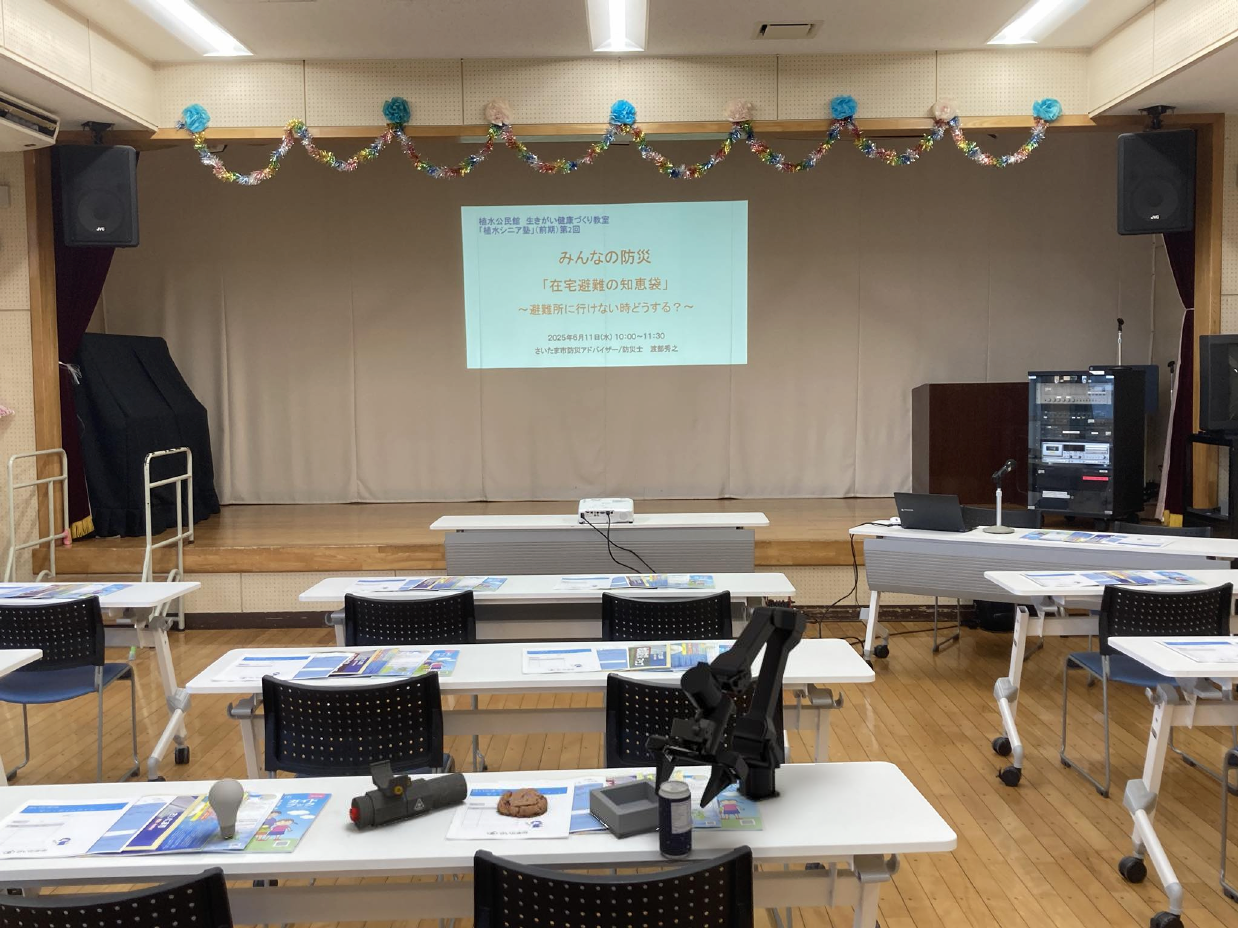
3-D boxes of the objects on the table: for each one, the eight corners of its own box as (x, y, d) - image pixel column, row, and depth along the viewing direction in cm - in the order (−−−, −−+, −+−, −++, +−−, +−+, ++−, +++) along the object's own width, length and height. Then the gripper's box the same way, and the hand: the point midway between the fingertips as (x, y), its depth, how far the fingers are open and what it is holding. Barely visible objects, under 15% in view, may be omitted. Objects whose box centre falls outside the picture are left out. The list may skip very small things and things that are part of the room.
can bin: (650, 799, 191) (649, 777, 191) (681, 824, 180) (681, 800, 179) (589, 812, 186) (589, 789, 186) (618, 839, 174) (618, 814, 174)
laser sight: (472, 808, 189) (471, 758, 189) (361, 840, 176) (359, 786, 176) (451, 793, 197) (449, 745, 197) (343, 822, 184) (341, 770, 184)
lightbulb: (211, 847, 174) (208, 788, 173) (208, 834, 180) (206, 776, 179) (247, 840, 177) (245, 781, 176) (243, 827, 182) (241, 770, 182)
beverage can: (692, 846, 171) (691, 779, 170) (691, 861, 165) (690, 792, 164) (660, 845, 171) (659, 779, 171) (658, 860, 166) (657, 791, 165)
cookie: (529, 824, 182) (529, 808, 182) (486, 812, 188) (485, 797, 187) (560, 805, 191) (559, 790, 190) (517, 794, 196) (516, 780, 196)
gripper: (650, 691, 178) (615, 768, 169) (739, 707, 167) (707, 791, 158) (673, 721, 185) (641, 797, 176) (761, 739, 174) (731, 821, 165)
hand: (678, 801), depth 169 cm, fingers open, 9 cm apart
